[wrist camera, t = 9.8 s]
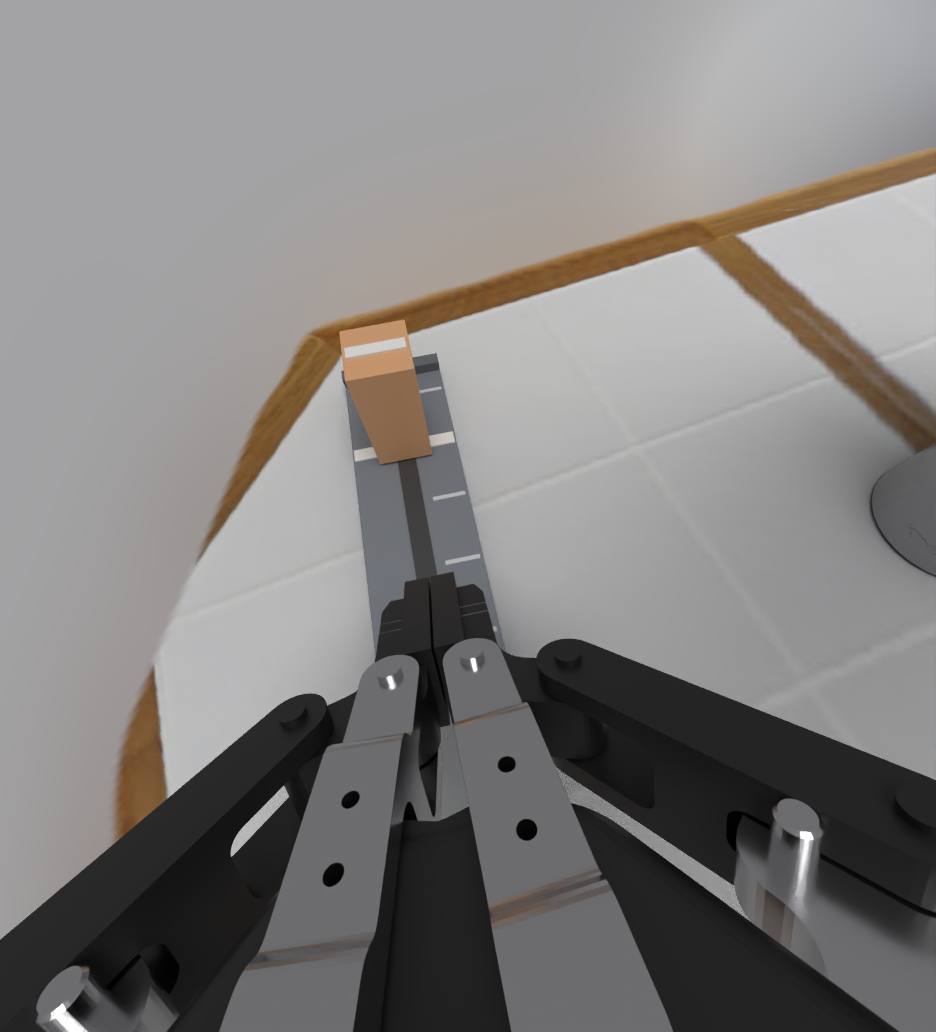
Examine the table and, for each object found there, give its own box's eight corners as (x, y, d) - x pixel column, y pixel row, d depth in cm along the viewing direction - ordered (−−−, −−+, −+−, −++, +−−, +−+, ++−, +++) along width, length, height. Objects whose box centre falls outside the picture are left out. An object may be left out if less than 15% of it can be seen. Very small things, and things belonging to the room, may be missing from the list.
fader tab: (374, 422, 35) (338, 329, 27) (424, 412, 35) (403, 317, 27) (380, 464, 33) (344, 379, 25) (432, 454, 34) (413, 366, 25)
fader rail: (349, 390, 39) (341, 371, 37) (439, 373, 39) (436, 353, 37) (386, 706, 28) (377, 705, 26) (510, 679, 28) (511, 675, 26)
